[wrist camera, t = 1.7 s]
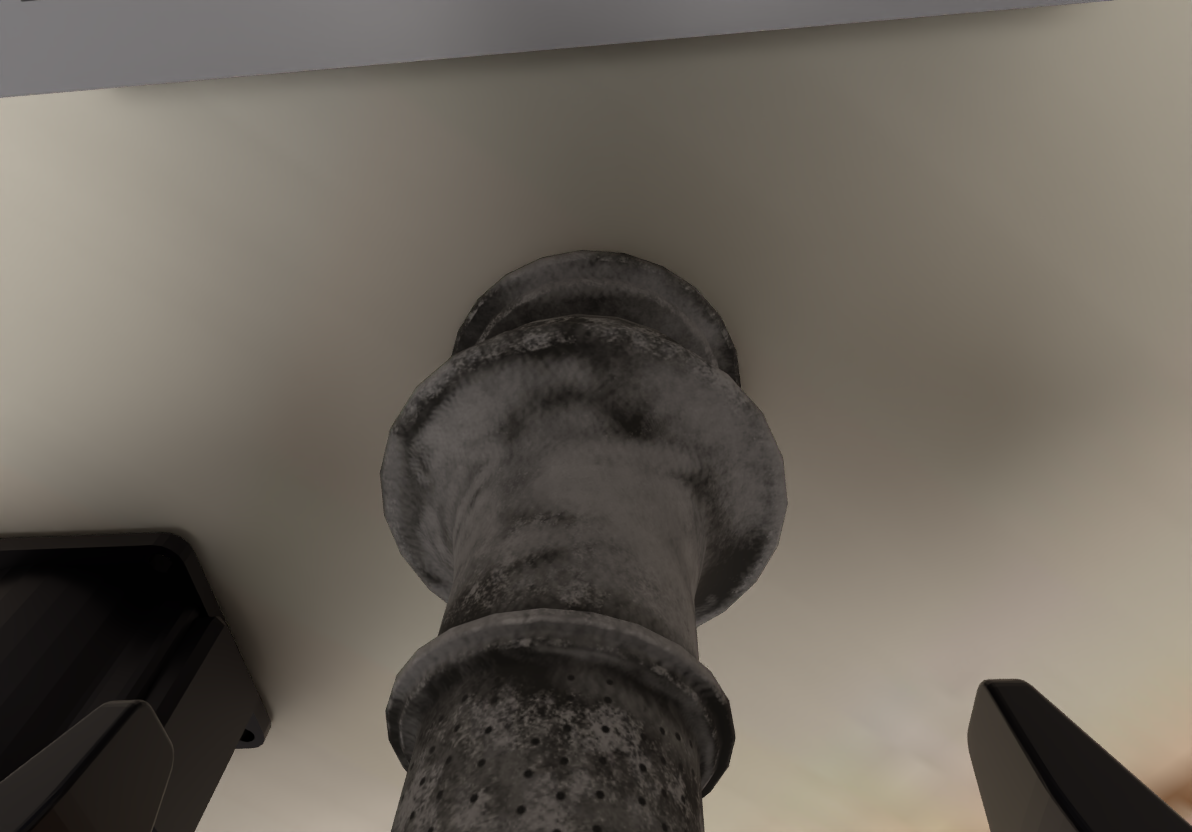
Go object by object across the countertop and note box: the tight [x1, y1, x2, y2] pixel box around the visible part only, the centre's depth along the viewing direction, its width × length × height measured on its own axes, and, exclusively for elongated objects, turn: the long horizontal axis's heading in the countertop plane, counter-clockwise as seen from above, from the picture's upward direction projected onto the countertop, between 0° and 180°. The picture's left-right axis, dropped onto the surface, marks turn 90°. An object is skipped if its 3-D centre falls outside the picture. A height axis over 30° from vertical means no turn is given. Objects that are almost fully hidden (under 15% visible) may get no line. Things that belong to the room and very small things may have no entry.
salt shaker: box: [380, 250, 788, 832], centre depth 10 cm, size 6×6×12 cm
